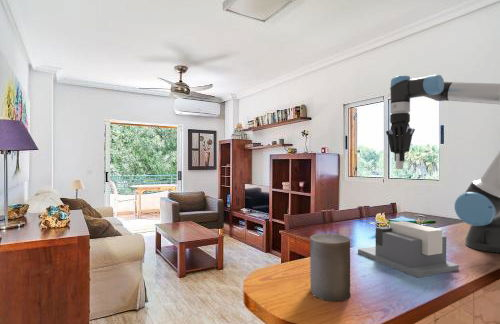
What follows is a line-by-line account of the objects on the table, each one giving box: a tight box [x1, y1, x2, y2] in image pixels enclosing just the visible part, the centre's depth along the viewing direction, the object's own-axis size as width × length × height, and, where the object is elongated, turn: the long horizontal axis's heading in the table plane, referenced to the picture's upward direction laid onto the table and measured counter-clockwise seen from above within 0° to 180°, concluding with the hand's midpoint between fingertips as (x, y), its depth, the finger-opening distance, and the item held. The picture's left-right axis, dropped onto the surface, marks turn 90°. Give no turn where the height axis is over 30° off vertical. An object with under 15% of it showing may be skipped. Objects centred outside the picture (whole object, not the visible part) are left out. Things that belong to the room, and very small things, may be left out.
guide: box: [357, 226, 460, 278], centre depth 100 cm, size 24×17×10 cm
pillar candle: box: [309, 232, 351, 302], centre depth 75 cm, size 10×10×15 cm
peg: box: [389, 220, 443, 255], centre depth 96 cm, size 14×6×7 cm, turn 21°
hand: (399, 168), depth 130 cm, fingers closed
